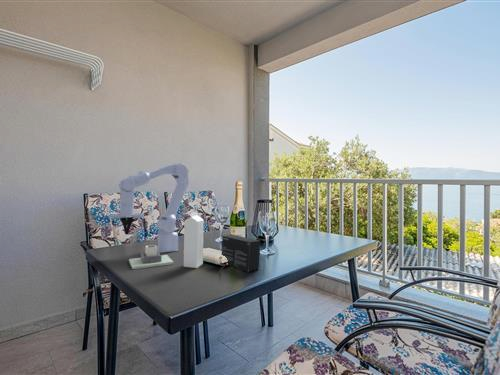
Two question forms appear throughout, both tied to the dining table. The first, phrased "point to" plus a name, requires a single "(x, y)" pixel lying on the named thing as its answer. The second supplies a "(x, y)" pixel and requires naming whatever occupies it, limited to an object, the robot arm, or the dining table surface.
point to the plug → (150, 250)
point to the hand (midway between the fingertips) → (126, 234)
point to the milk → (193, 241)
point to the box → (241, 252)
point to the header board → (150, 261)
